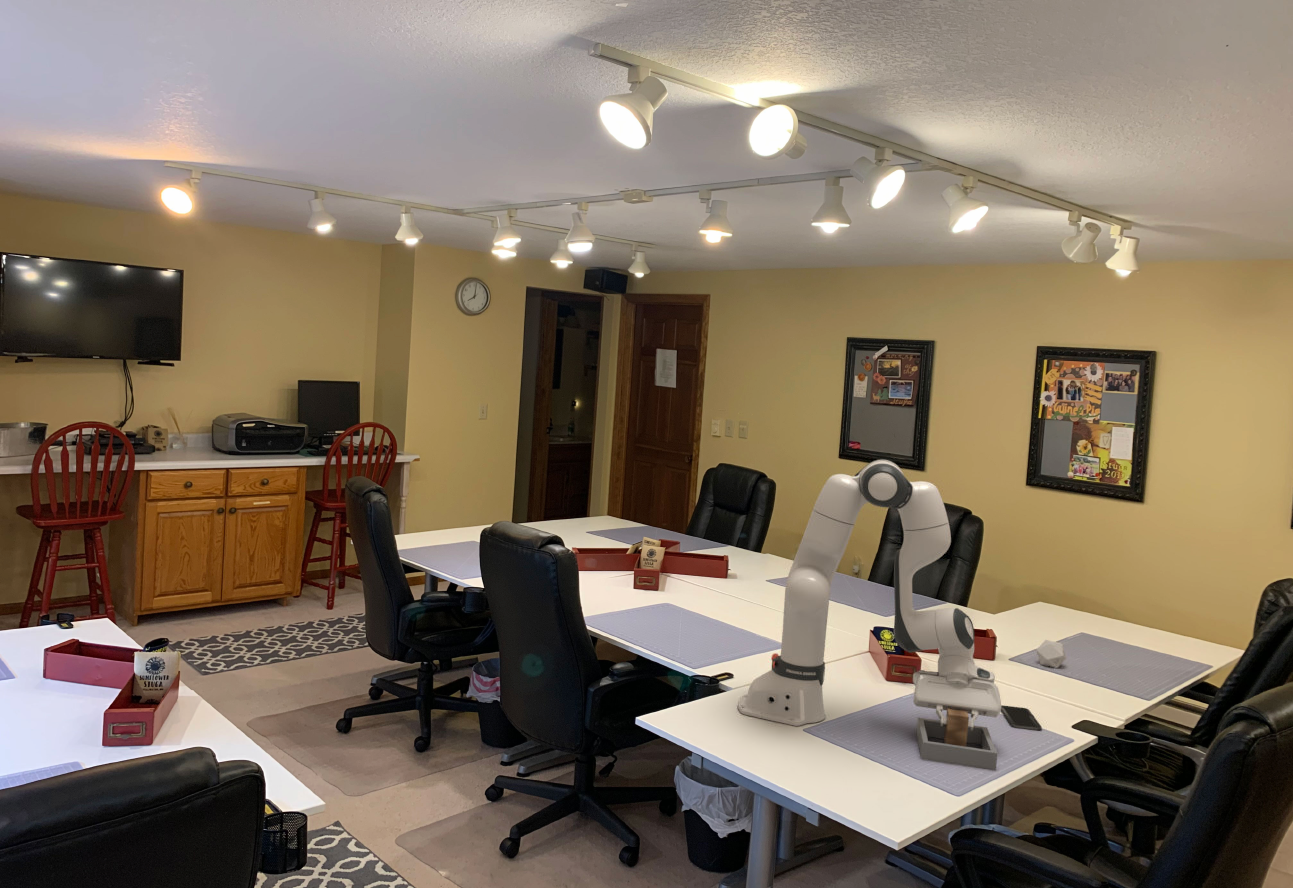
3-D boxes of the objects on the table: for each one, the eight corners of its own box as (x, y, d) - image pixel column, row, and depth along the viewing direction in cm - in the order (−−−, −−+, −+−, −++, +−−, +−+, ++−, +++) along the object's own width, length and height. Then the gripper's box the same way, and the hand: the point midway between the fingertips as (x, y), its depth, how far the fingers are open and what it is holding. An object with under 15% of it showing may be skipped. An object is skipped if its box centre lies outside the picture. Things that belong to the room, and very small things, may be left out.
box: (921, 758, 213) (923, 742, 213) (916, 732, 229) (918, 717, 229) (995, 770, 210) (997, 753, 210) (985, 742, 226) (986, 727, 226)
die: (1048, 672, 291) (1070, 650, 289) (1027, 652, 296) (1048, 631, 295) (1053, 676, 297) (1075, 655, 296) (1033, 656, 302) (1054, 636, 301)
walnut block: (945, 746, 218) (949, 714, 217) (944, 739, 222) (947, 707, 222) (965, 749, 217) (968, 717, 216) (963, 742, 221) (966, 710, 221)
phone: (1011, 724, 238) (998, 704, 253) (1011, 728, 238) (998, 708, 253) (1043, 728, 237) (1028, 708, 251) (1042, 732, 237) (1027, 712, 252)
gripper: (914, 662, 227) (913, 714, 218) (1001, 674, 223) (1003, 727, 214) (911, 674, 232) (910, 726, 223) (996, 686, 228) (998, 739, 219)
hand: (956, 727), depth 219 cm, fingers closed on walnut block, 4 cm apart
